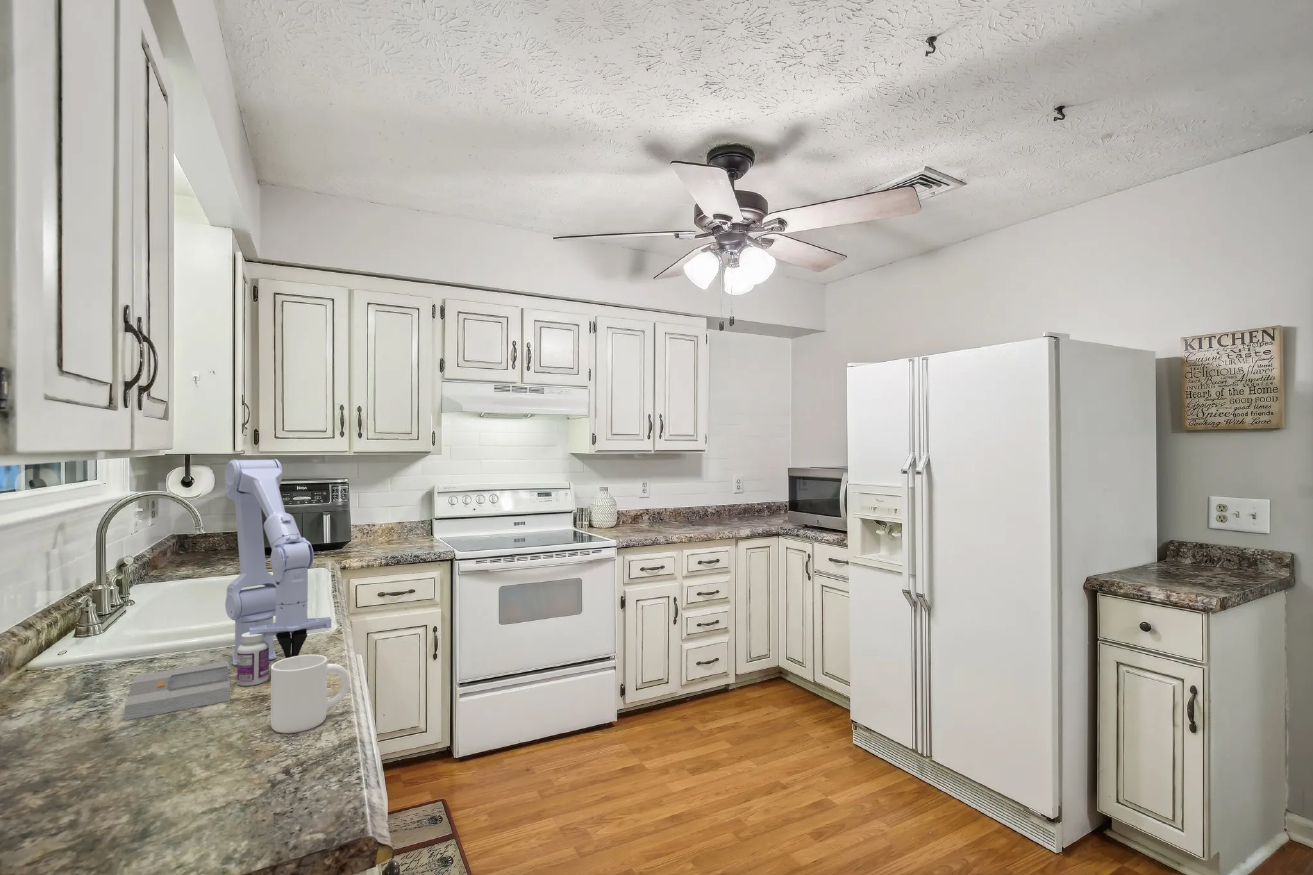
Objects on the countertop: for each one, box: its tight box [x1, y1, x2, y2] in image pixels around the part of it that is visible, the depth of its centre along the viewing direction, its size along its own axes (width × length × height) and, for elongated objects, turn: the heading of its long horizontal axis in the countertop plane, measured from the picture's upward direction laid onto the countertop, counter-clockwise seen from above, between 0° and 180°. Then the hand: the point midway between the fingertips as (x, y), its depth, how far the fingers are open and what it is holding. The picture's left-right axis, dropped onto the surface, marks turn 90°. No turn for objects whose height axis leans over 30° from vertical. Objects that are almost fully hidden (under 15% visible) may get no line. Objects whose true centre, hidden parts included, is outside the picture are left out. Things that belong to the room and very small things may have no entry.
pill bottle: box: [236, 632, 270, 687], centre depth 128 cm, size 5×5×10 cm
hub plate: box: [124, 660, 231, 721], centre depth 121 cm, size 18×15×3 cm
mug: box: [270, 654, 351, 734], centre depth 110 cm, size 12×8×10 cm
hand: (291, 668), depth 132 cm, fingers closed
